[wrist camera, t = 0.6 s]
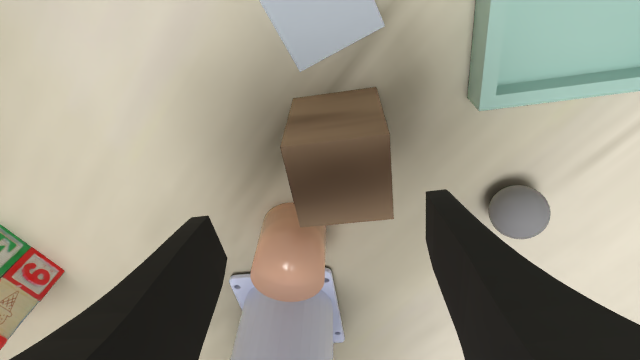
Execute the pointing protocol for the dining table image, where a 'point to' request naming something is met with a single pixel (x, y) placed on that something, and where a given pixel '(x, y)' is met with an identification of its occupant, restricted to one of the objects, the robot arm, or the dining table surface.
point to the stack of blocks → (21, 281)
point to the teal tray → (552, 51)
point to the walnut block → (338, 158)
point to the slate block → (321, 26)
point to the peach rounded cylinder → (289, 257)
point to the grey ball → (519, 212)
